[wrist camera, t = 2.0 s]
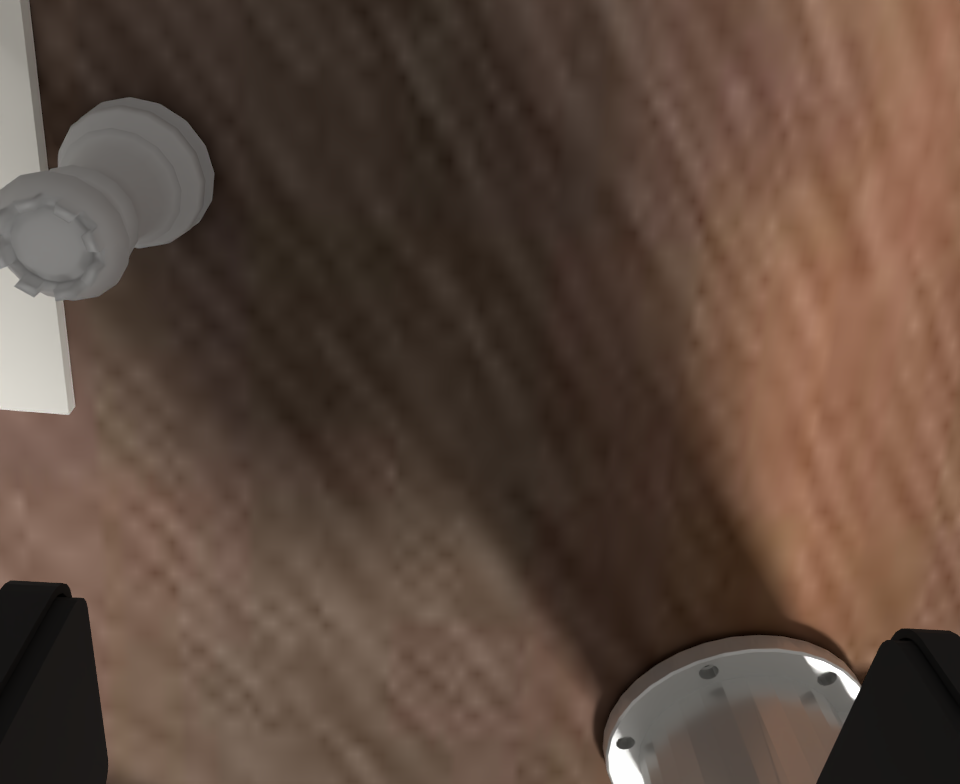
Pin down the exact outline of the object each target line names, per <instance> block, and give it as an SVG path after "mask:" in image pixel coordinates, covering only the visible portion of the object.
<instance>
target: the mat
mask: <svg viewBox="0 0 960 784" xmlns="http://www.w3.org/2000/svg"><path fill="white" fill-rule="evenodd" d="M46 170H47V171H48V162H47V153H46V144H45V135H44V127H43V118H42V109H41V100H40V91H39V83H38V74H37V65H36V56H35V47H34V39H33V30H32V21H31V12H30V3H29V0H0V189H2V188H3V187H5V186H6V185H7V184H9V183H10V182H11V181H13V180H14V179H15V178H17V177H18V176H20V175H24V174H29V173H35V172H40V171H46ZM18 281H19V279H18V278H17V276H16V275H15V274H14V273H13V272H12V271H11V270H10V269H9V268H8V267H4V268H2V269H0V409H3V410H16V411H28V412H40V413H53V414H65V415H69V414H70V413H71V412H72V410H73V409H74V408H75V399H74V391H73V382H72V373H71V364H70V355H69V347H68V338H67V329H66V320H65V311H64V303H63V300H61V301H55V297H50V296H46V295H44V294H43V293H41V292H40V293H38V294H37V295H36V296H35V297H32V296H30V295H29V294H27V293H25V292H23V291H21V290H19V289H17V288H16V287H14V286H15V285H16V283H17V282H18Z"/></svg>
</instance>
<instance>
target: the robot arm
mask: <svg viewBox="0 0 960 784" xmlns="http://www.w3.org/2000/svg"><path fill="white" fill-rule="evenodd" d="M603 752H604V757H605V763H606V768H607V772H608V775H609V778H610V780H611V783H612V784H960V637H959V636H958V635H957V634H955V633H953V632H951V631H944V630H925V629H900V630H899V631H897V632H896V633H895V634H894V636H893V637H892V638H891V640H886V641H885V642H883V643H882V644H881V646H880V647H879V649H878V651H877V654H876V656H875V658H874V660H873V662H872V664H871V666H870V669H869V671H868V673H867V675H866V677H865V679H864V682H863V684H862V686H861V684H860V682H859V681H858V679H857V677H856V675H855V674H854V673H853V672H852V671H851V670H850V668H849V667H848V666H847V665H846V664H845V663H844V662H843V661H842V660H841V659H839V658H838V657H836V656H835V655H834V654H832V653H831V652H829V651H828V650H826V649H823V648H821V647H819V646H816V645H814V644H812V643H809V642H807V641H802V640H798V639H793V638H789V637H784V636H768V635H750V636H738V637H729V638H725V639H720V640H716V641H711V642H707V643H703V644H700V645H698V646H695V647H692V648H690V649H687V650H684V651H682V652H679V653H677V654H675V655H674V656H672V657H670V658H668V659H666V660H664V661H662V662H661V663H659V664H657V665H656V666H654V667H653V668H652V669H650V670H649V671H648V672H646V673H645V674H644V675H642V676H641V677H640V678H638V679H637V680H636V681H635V682H634V683H633V684H632V685H631V686H630V687H629V688H628V689H627V690H626V691H625V692H624V694H623V695H622V696H621V697H620V699H619V700H618V702H617V703H616V705H615V707H614V708H613V710H612V711H611V713H610V715H609V718H608V721H607V724H606V727H605V730H604V738H603ZM107 773H108V756H107V748H106V741H105V733H104V726H103V718H102V711H101V703H100V696H99V689H98V681H97V674H96V666H95V659H94V651H93V644H92V637H91V629H90V622H89V614H88V607H87V603H86V601H85V599H84V598H72V595H71V591H70V588H69V587H68V585H67V584H63V583H47V582H29V581H9V582H7V583H5V584H4V586H3V587H2V588H1V589H0V784H106V779H107Z"/></svg>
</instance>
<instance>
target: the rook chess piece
mask: <svg viewBox="0 0 960 784" xmlns="http://www.w3.org/2000/svg"><path fill="white" fill-rule="evenodd" d="M213 185H214V170H213V167H212V164H211V161H210V158H209V154H208V151H207V148H206V145H205V144H204V143H203V142H202V140H201V139H200V138H199V136H198V135H197V134H196V132H195V131H194V130H193V129H192V127H191V126H190V125H189V123H188V122H187V121H186V120H184V119H183V118H181V117H180V116H178V115H177V114H175V113H174V112H172V111H170V110H169V109H167V108H166V107H164V106H163V105H161V104H159V103H154V102H150V101H145V100H141V99H137V98H132V97H127V98H122V99H116V100H111V101H105V102H101V103H100V104H99V105H97V106H96V107H94V108H93V109H92V110H90V111H89V112H88V113H86V114H85V115H84V116H82V117H81V118H80V119H79V120H78V121H77V122H75V123H74V124H73V125H71V127H70V129H69V131H68V133H67V135H66V137H65V139H64V141H63V143H62V145H61V147H60V149H59V153H58V167H57V168H52V169H50V170H48V171H47V170H46V171H40V172H35V173H29V174H24V175H20V176H18V177H17V178H15V179H14V180H13V181H11V182H10V183H9V184H7V185H6V186H5V187H3V188H2V189H0V269H2V268H4V267H8V268H9V269H10V270H11V271H12V272H13V273H14V274H15V275H16V276H17V278H18V279H19V281H18V282H17V283H16V285H15V286H14V287H16V288H17V289H19V290H21V291H23V292H25V293H27V294H29V295H30V296H32V297H35V296H36V295H37V294H38V293H40V292H41V293H43V294H44V295H46V296H50V297H55V301H61V300H72V301H76V300H82V299H87V298H93V297H98V296H100V295H101V294H103V293H104V292H106V291H107V290H109V289H110V288H112V287H113V286H115V285H116V284H118V282H119V280H120V278H121V277H122V275H123V273H124V271H125V269H126V268H127V266H128V264H129V256H130V254H131V253H132V251H133V249H134V247H135V248H145V247H151V246H157V245H162V244H168V243H171V242H172V241H174V240H175V239H177V238H178V237H180V236H181V235H183V234H184V233H186V232H187V231H189V230H190V229H191V228H192V227H193V226H195V225H196V224H198V223H199V222H200V220H201V219H202V217H203V215H204V214H205V212H206V210H207V208H208V207H209V205H210V203H211V202H212V196H213Z"/></svg>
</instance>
